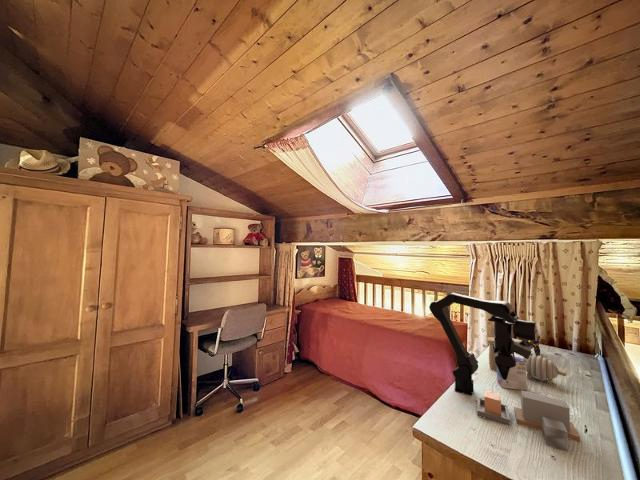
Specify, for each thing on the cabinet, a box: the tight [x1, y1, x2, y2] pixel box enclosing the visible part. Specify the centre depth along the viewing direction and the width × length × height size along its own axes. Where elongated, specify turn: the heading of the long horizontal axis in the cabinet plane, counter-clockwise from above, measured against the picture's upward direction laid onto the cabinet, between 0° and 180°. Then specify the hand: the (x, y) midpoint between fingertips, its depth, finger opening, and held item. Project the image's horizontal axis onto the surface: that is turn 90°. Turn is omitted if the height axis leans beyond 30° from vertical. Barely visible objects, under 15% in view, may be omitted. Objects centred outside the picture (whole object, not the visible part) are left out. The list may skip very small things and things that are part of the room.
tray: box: [476, 396, 511, 427], centre depth 95 cm, size 10×10×2 cm
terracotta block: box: [483, 390, 502, 416], centre depth 95 cm, size 5×5×6 cm
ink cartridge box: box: [496, 353, 528, 391], centre depth 114 cm, size 10×6×14 cm, turn 78°
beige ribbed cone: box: [522, 354, 567, 386], centre depth 119 cm, size 11×17×11 cm, turn 47°
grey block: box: [542, 417, 569, 453], centre depth 81 cm, size 5×5×6 cm
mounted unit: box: [513, 390, 581, 443], centre depth 89 cm, size 16×8×9 cm, turn 58°
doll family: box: [521, 334, 542, 357], centre depth 144 cm, size 23×9×13 cm, turn 144°
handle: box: [486, 336, 497, 371], centre depth 130 cm, size 5×6×15 cm
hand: (503, 374), depth 100 cm, fingers open, 9 cm apart
